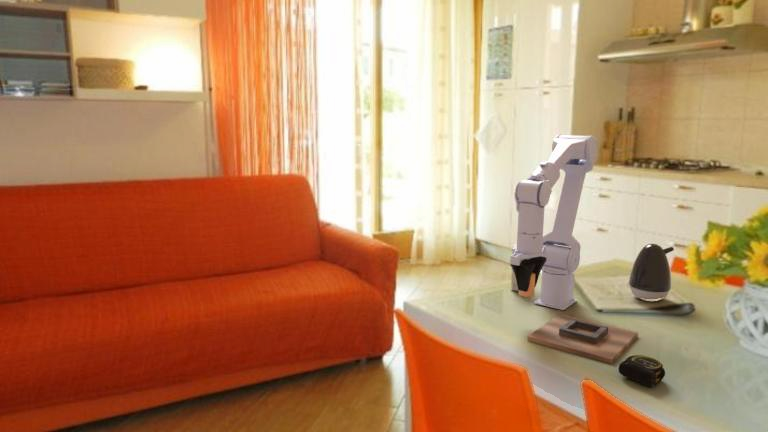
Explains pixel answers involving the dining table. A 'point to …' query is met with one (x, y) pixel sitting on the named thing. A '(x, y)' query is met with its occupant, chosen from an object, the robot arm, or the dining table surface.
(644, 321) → the dining table surface
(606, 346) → the socket
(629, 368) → the tape measure
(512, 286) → the skincare box
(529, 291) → the peg
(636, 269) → the pump dispenser
